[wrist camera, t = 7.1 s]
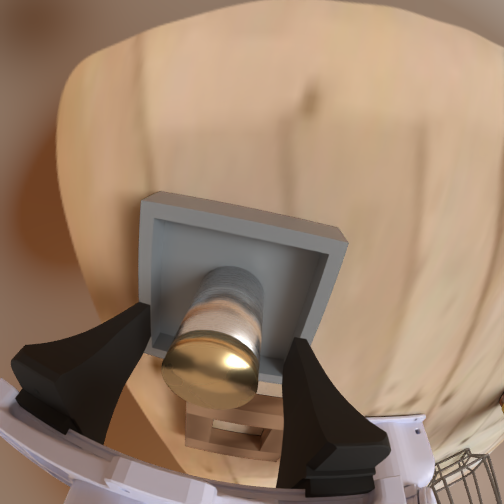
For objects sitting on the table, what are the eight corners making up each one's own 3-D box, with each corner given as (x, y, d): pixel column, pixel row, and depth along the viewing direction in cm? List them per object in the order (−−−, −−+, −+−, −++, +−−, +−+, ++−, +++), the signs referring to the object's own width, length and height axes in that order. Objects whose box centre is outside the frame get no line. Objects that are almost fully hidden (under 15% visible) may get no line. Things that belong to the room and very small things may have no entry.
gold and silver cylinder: (270, 273, 16) (267, 358, 9) (257, 327, 17) (248, 416, 11) (202, 259, 16) (160, 334, 9) (197, 314, 17) (163, 397, 11)
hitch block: (305, 400, 21) (306, 418, 19) (276, 447, 25) (276, 461, 23) (192, 380, 21) (186, 397, 19) (189, 431, 25) (185, 445, 23)
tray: (338, 227, 15) (348, 242, 13) (291, 361, 19) (292, 385, 17) (159, 191, 15) (141, 200, 13) (154, 331, 19) (141, 352, 17)
